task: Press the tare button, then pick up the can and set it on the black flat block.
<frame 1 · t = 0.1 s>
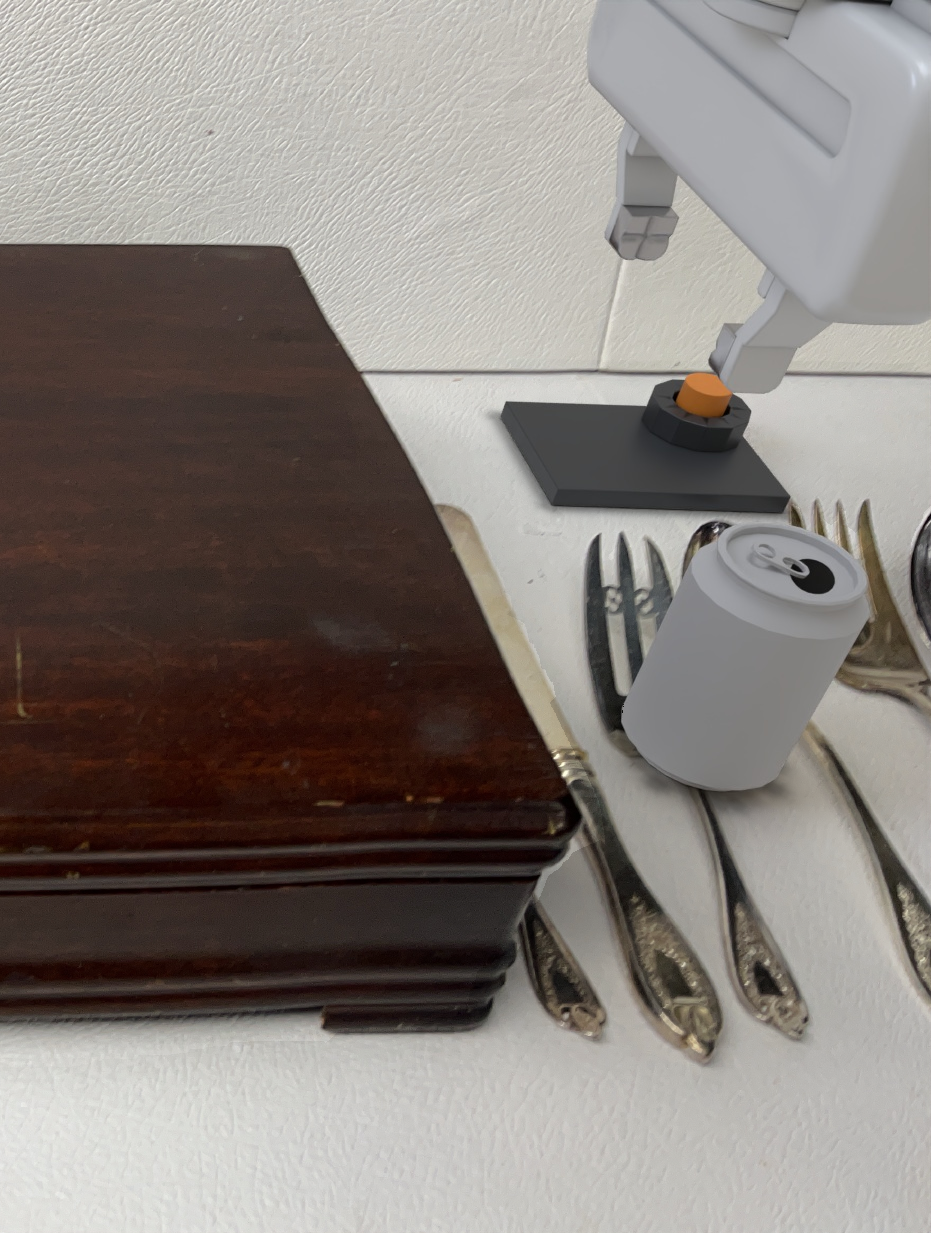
hand: (681, 313, 56), 28 cm above the table, tool pointing down, fingers open, 8 cm apart
tare button: (704, 396, 99), point 3 cm above the table, slide at 0.1 cm
can: (692, 752, 79), on the table
black flat block: (636, 463, 99), on the table
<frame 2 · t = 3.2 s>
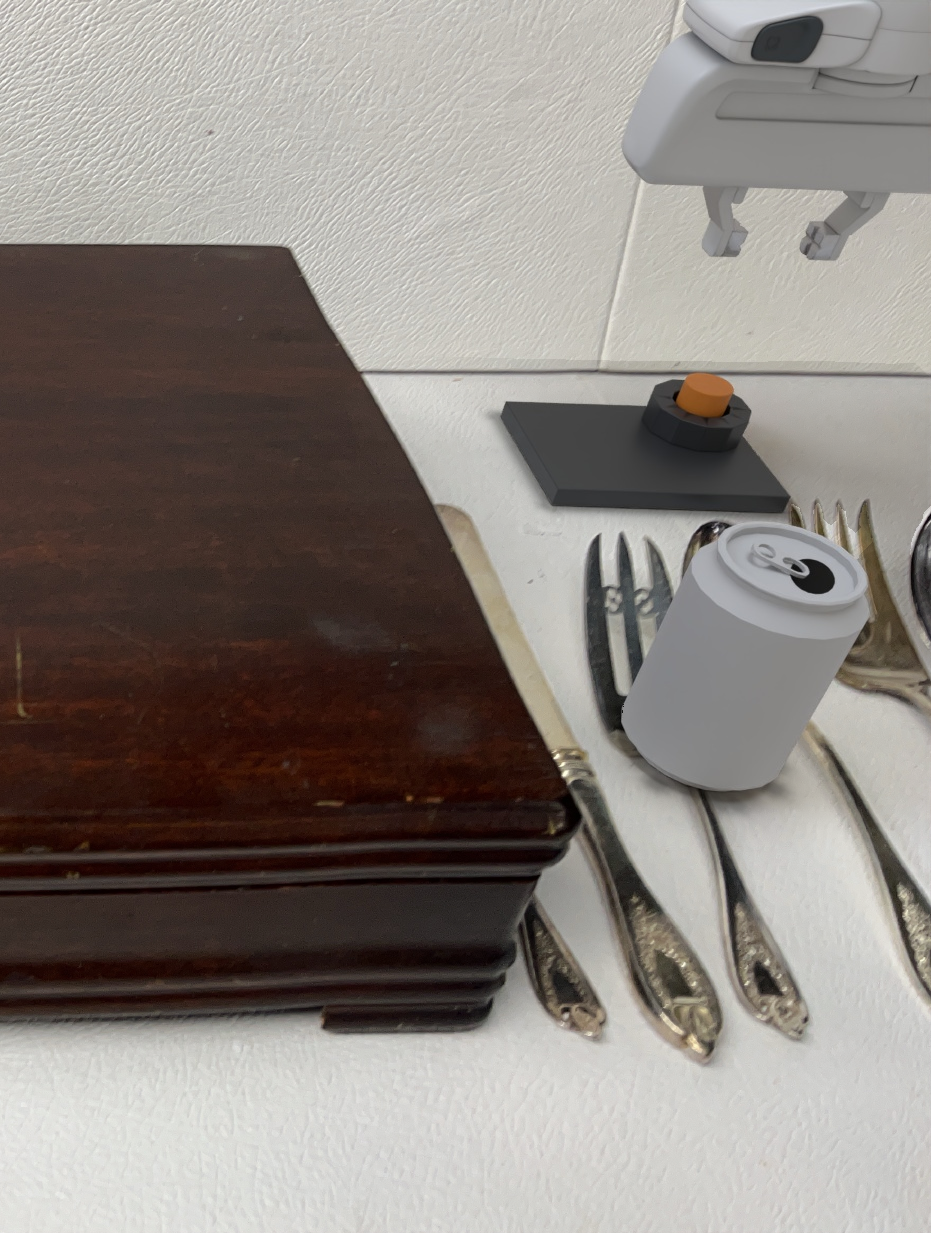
hand: (767, 254, 93), 13 cm above the table, tool pointing down, fingers open, 4 cm apart
nothing on the table moved.
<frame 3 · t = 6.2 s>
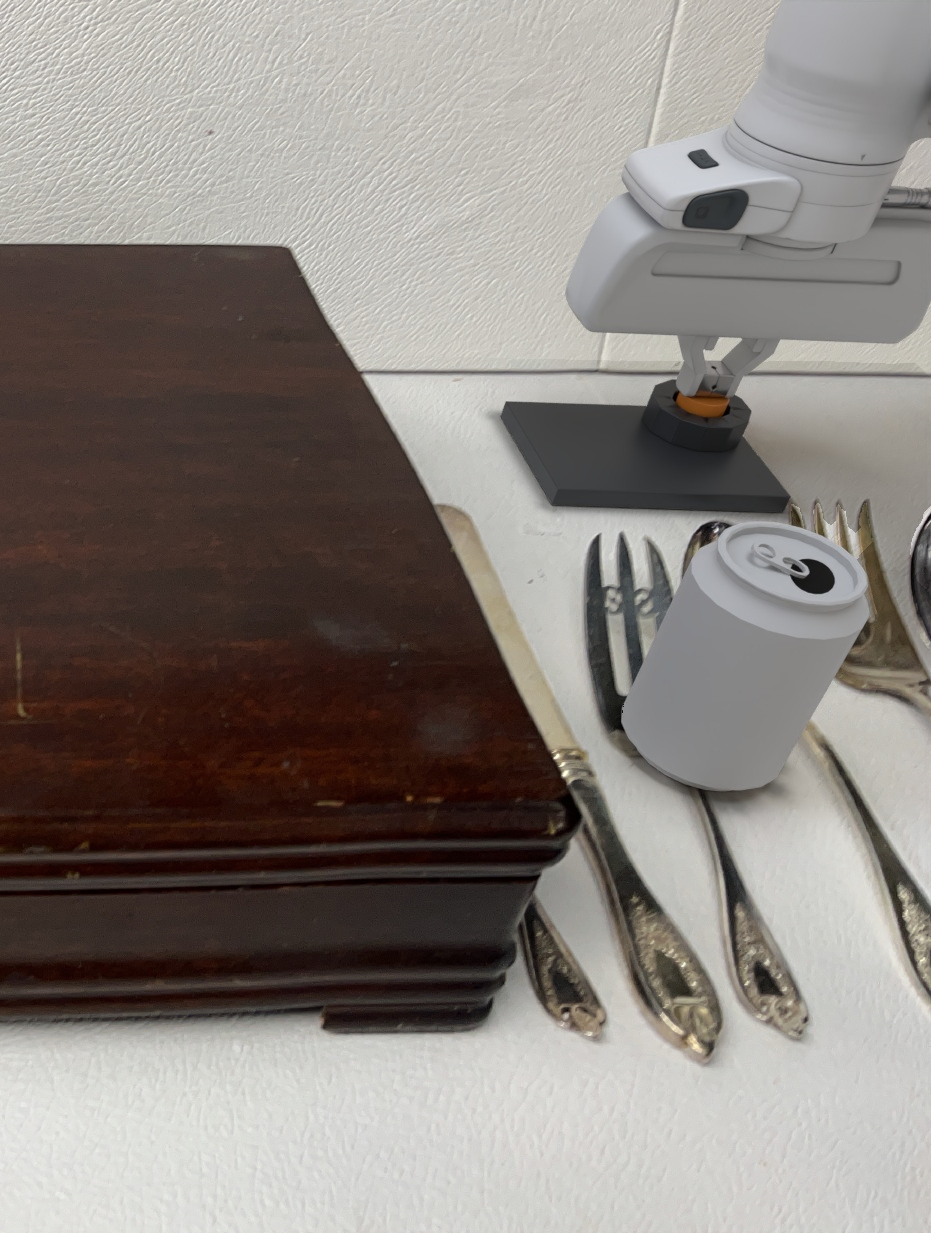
hand: (702, 392, 99), 4 cm above the table, tool pointing down, fingers closed, pressing on tare button
tare button: (700, 405, 99), point 3 cm above the table, slide at -0.6 cm, touching gripper
everything else where it was.
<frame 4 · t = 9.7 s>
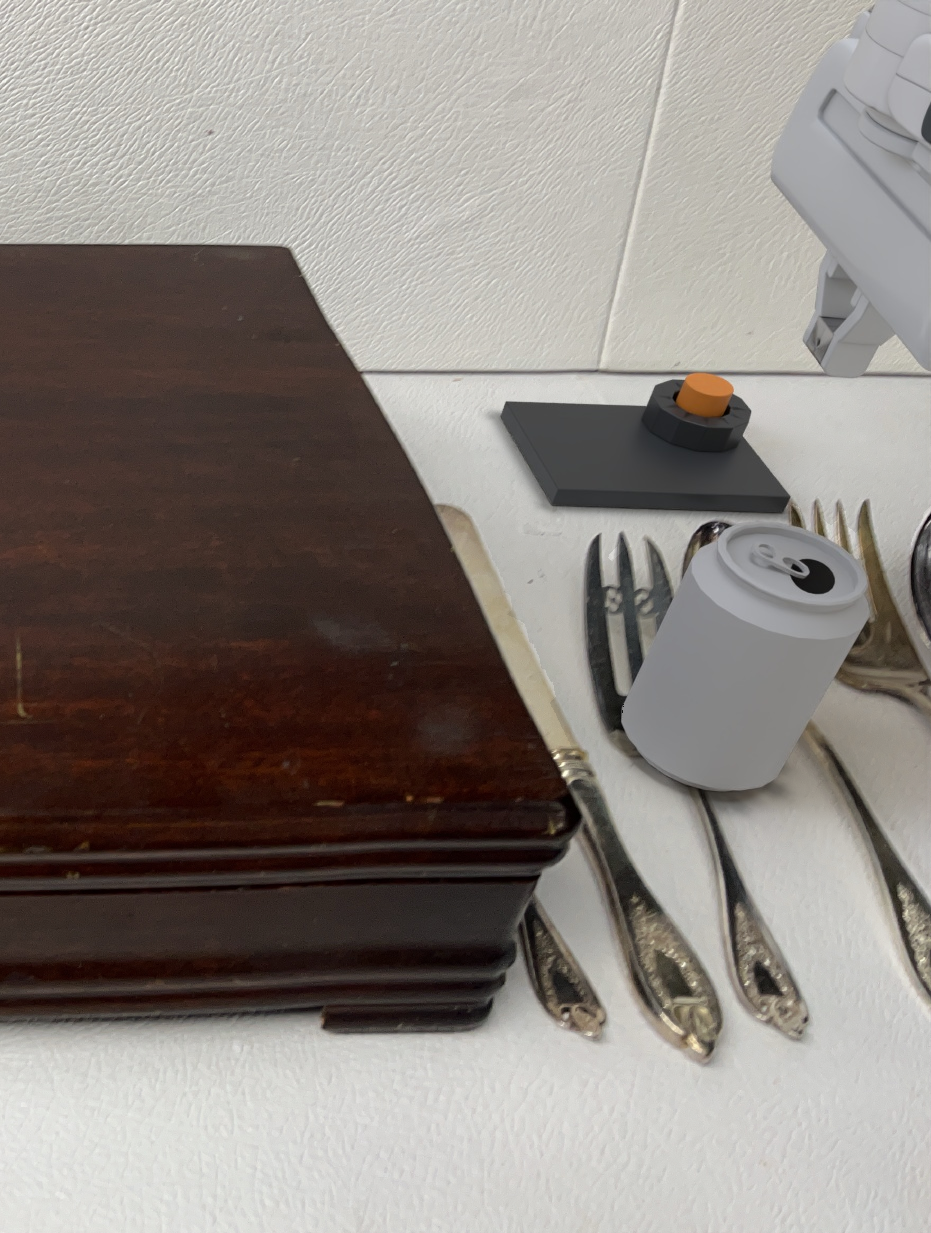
hand: (829, 361, 73), 18 cm above the table, tool pointing down, fingers closed
tare button: (704, 396, 99), point 3 cm above the table, slide at 0.1 cm
everything else where it was.
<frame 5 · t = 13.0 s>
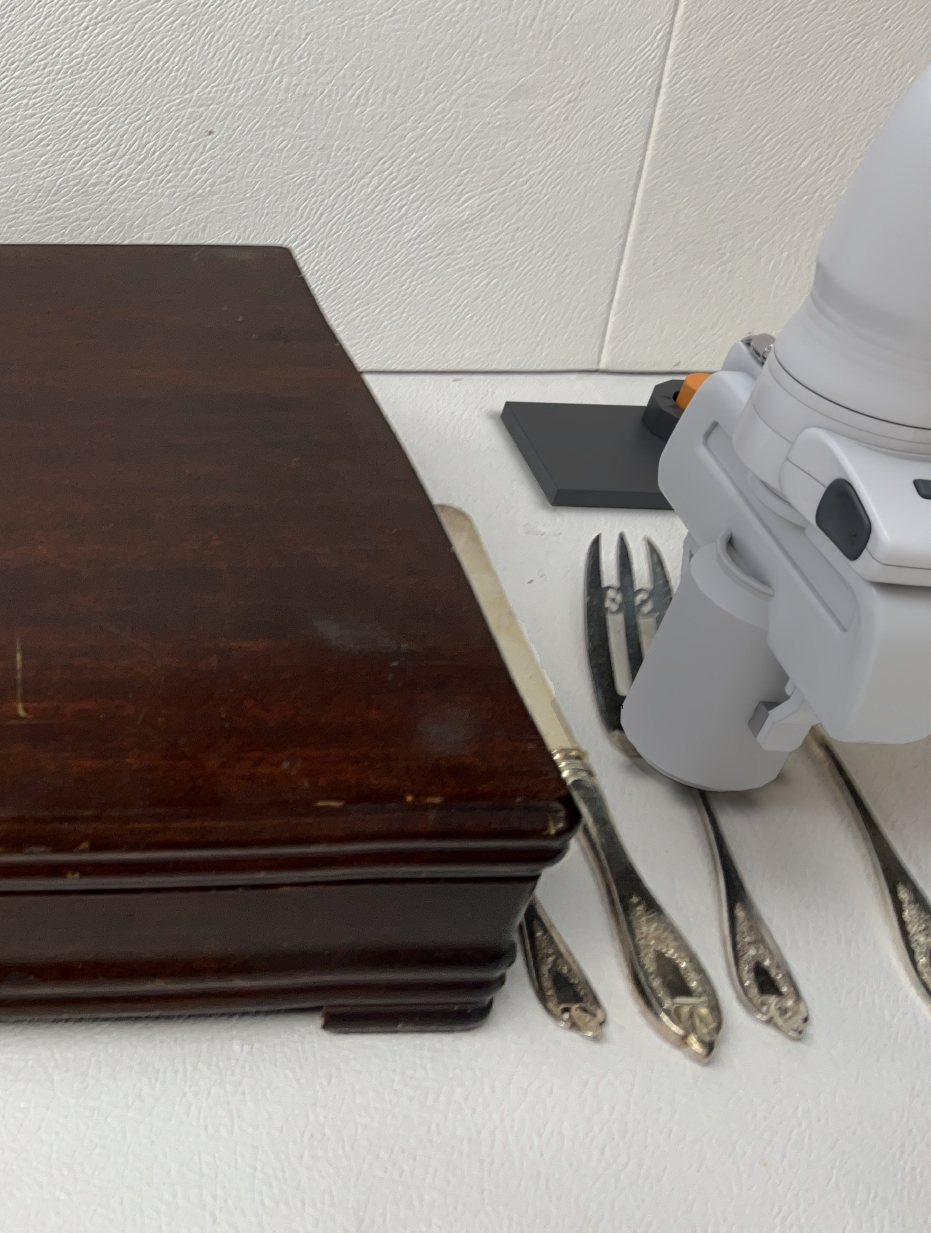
hand: (729, 678, 76), 5 cm above the table, tool pointing down, fingers closed on can, 7 cm apart
can: (692, 752, 79), on the table, touching gripper
everything else where it was.
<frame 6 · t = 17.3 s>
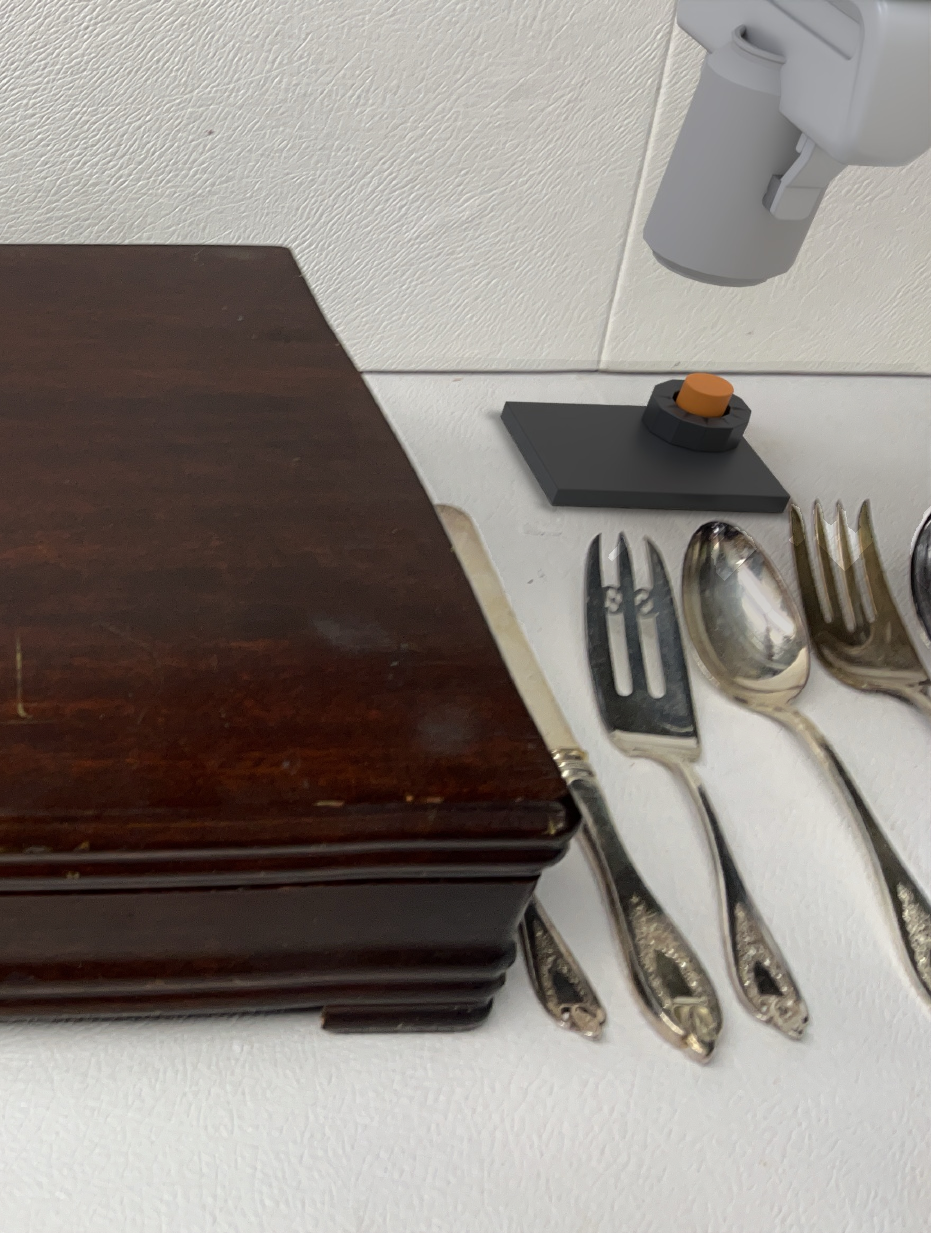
hand: (744, 178, 82), 21 cm above the table, tool pointing down, fingers closed on can, 7 cm apart
can: (709, 265, 86), point 16 cm above the table, touching gripper
everything else where it was.
when the fingers open (6 cm above the table, at t = 21.7 s): can stays where it is, resting on black flat block.
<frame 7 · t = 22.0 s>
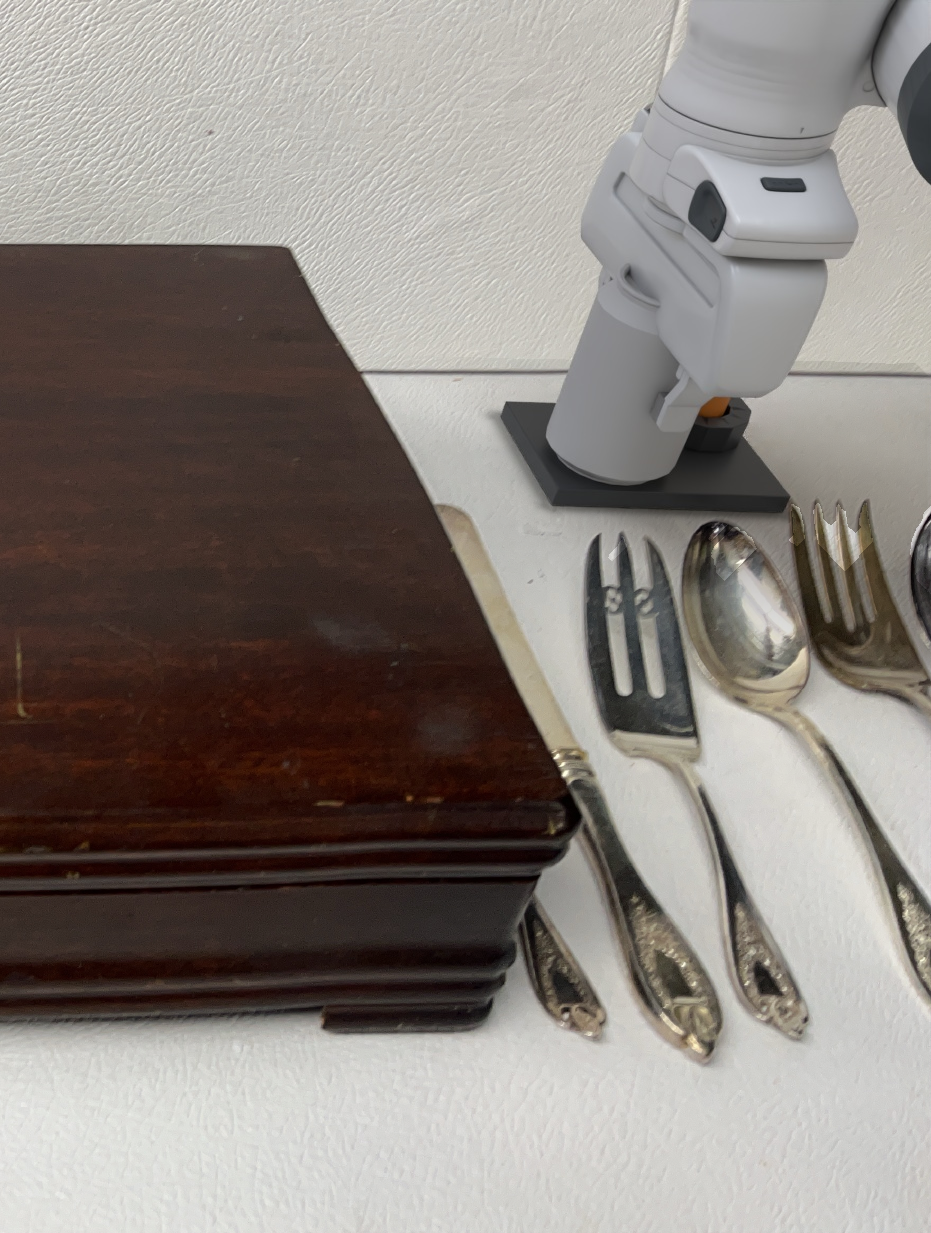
hand: (636, 382, 94), 7 cm above the table, tool pointing down, fingers open, 8 cm apart
can: (604, 461, 97), point 1 cm above the table, touching black flat block
everything else where it was.
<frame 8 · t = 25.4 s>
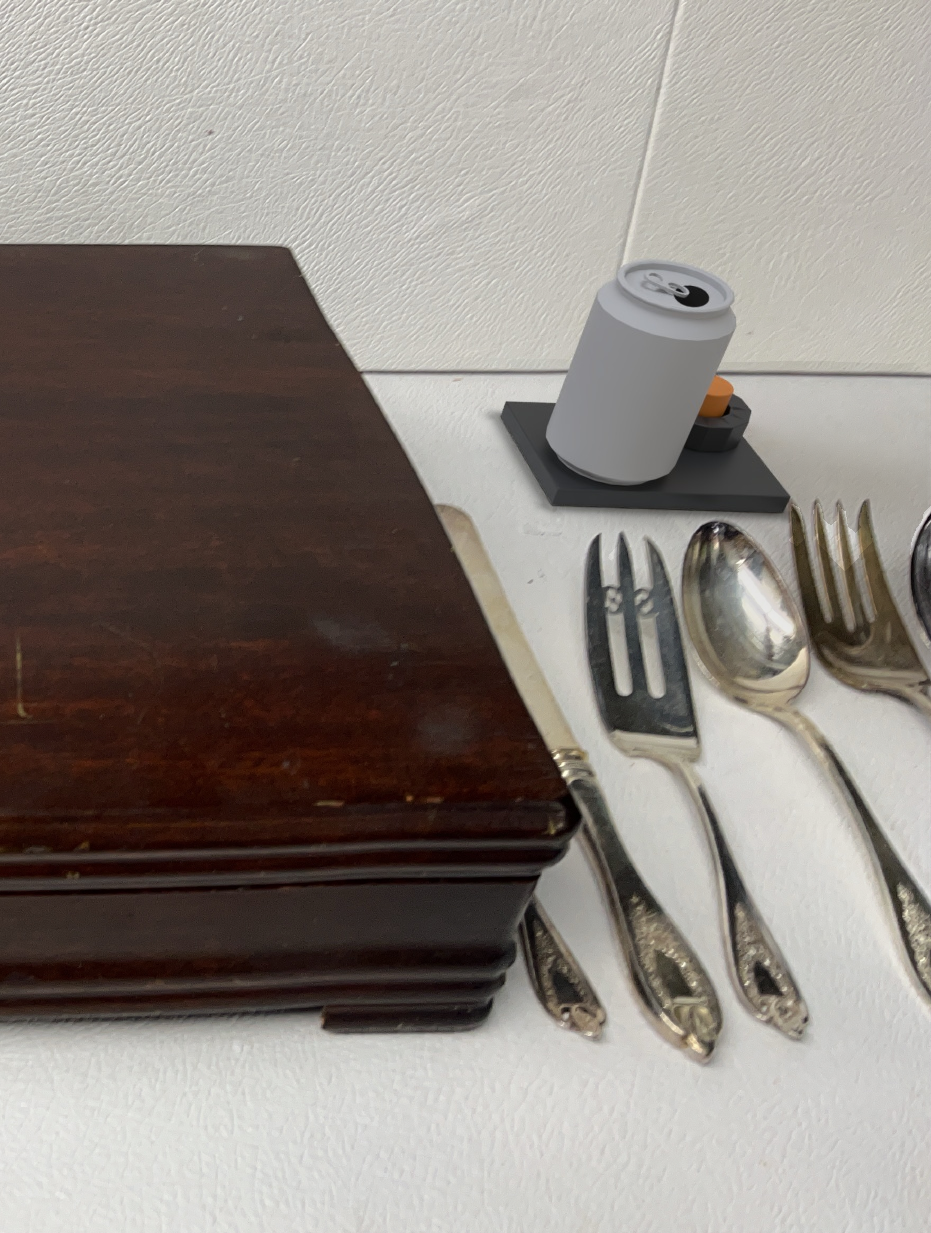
nothing on the table moved.
at the end: tare button pushed in 1.1 cm at the most during the clip, back to where it started at the end; can inside the target area on the black flat block (1.1 cm from its centre), point 1.0 cm above the black flat block's base; can touching black flat block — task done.
